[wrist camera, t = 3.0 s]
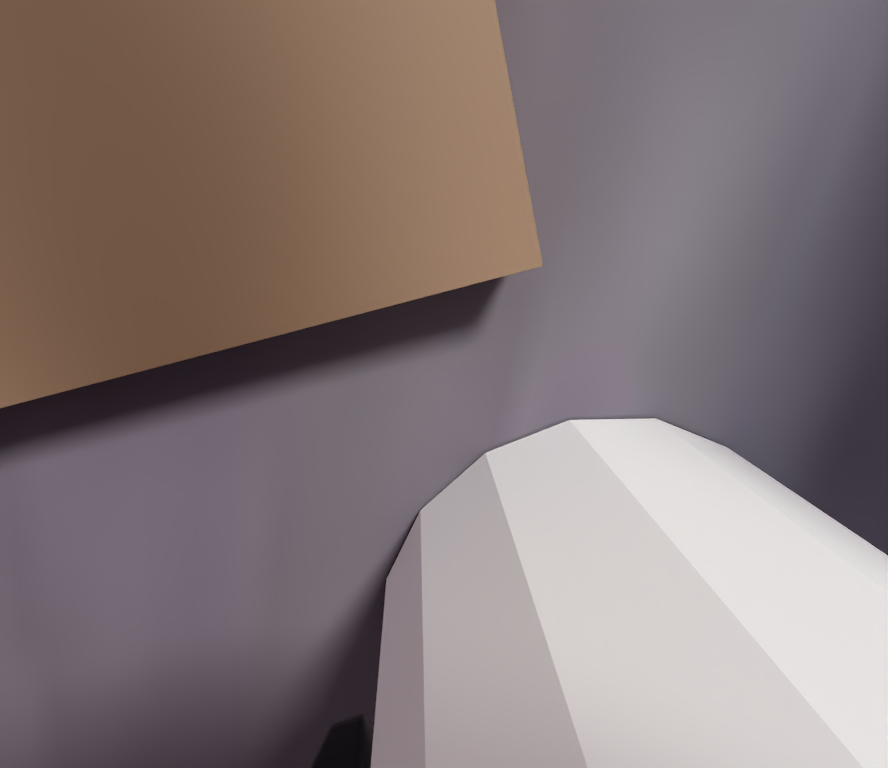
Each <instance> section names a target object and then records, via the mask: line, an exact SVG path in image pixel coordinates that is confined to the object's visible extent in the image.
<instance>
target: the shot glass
mask: <svg viewBox="0 0 888 768" xmlns="http://www.w3.org/2000/svg"><path fill="white" fill-rule="evenodd" d="M371 768H888V555H886V554H885V553H883V552H882V551H880V550H879V549H877V548H876V547H874V546H873V545H871V544H870V543H868V542H867V541H866V540H864V539H863V538H861V537H860V536H858V535H857V534H855V533H854V532H852V531H851V530H849V529H848V528H846V527H845V526H843V525H842V524H840V523H839V522H837V521H836V520H834V519H833V518H831V517H830V516H828V515H827V514H825V513H824V512H822V511H821V510H819V509H818V508H817V507H815V506H814V505H812V504H811V503H809V502H808V501H806V500H805V499H803V498H802V497H800V496H799V495H797V494H796V493H794V492H793V491H791V490H790V489H788V488H787V487H785V486H784V485H782V484H781V483H779V482H778V481H776V480H775V479H773V478H772V477H770V476H769V475H768V474H766V473H765V472H763V471H762V470H760V469H759V468H757V467H756V466H754V465H753V464H751V463H750V462H748V461H747V460H745V459H744V458H742V457H741V456H739V455H738V454H736V453H735V452H733V451H732V450H730V449H729V448H727V447H725V446H723V445H720V444H718V443H715V442H713V441H710V440H708V439H705V438H703V437H700V436H698V435H695V434H693V433H691V432H688V431H686V430H683V429H681V428H678V427H676V426H673V425H671V424H668V423H666V422H663V421H661V420H658V419H656V418H655V419H596V420H568V421H566V422H563V423H560V424H558V425H555V426H553V427H550V428H548V429H545V430H543V431H540V432H537V433H535V434H532V435H530V436H527V437H525V438H522V439H519V440H517V441H514V442H512V443H509V444H507V445H504V446H502V447H499V448H496V449H494V450H491V451H489V452H486V453H485V454H483V455H482V456H481V457H480V458H479V459H478V460H477V461H476V462H474V463H473V464H472V465H471V466H470V467H469V468H468V469H466V470H465V471H464V472H463V473H462V474H461V475H460V476H459V477H457V478H456V479H455V480H454V481H453V482H452V483H451V484H449V485H448V486H447V487H446V488H445V489H444V490H443V491H442V492H440V493H439V494H438V495H437V496H436V497H435V498H434V499H432V500H431V501H430V502H429V503H428V504H427V505H426V506H425V507H423V508H422V509H421V510H420V512H419V514H418V516H417V518H416V520H415V522H414V524H413V526H412V528H411V530H410V532H409V534H408V536H407V538H406V540H405V543H404V545H403V547H402V549H401V551H400V553H399V555H398V557H397V559H396V561H395V563H394V565H393V567H392V569H391V571H390V573H389V575H388V577H387V579H386V590H385V602H384V614H383V626H382V638H381V650H380V662H379V674H378V685H377V697H376V709H375V721H374V733H373V745H372V757H371Z"/></svg>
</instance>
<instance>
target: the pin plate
mask: <svg viewBox="0 0 888 768" xmlns="http://www.w3.org/2000/svg"><path fill="white" fill-rule="evenodd" d="M541 266H543V264H542V258H541V253H540V247H539V242H538V236H537V231H536V225H535V220H534V214H533V209H532V203H531V198H530V192H529V187H528V181H527V176H526V170H525V165H524V159H523V154H522V148H521V143H520V137H519V132H518V126H517V121H516V115H515V110H514V104H513V99H512V93H511V88H510V82H509V77H508V71H507V66H506V60H505V55H504V49H503V43H502V38H501V32H500V27H499V21H498V16H497V10H496V5H495V0H0V408H3V407H7V406H11V405H15V404H18V403H22V402H26V401H30V400H34V399H37V398H41V397H45V396H49V395H53V394H56V393H60V392H64V391H68V390H72V389H76V388H79V387H83V386H87V385H91V384H95V383H98V382H102V381H106V380H110V379H114V378H118V377H121V376H125V375H129V374H133V373H137V372H140V371H144V370H148V369H152V368H156V367H159V366H163V365H167V364H171V363H175V362H179V361H182V360H186V359H190V358H194V357H198V356H201V355H205V354H209V353H213V352H217V351H220V350H224V349H228V348H232V347H236V346H240V345H243V344H247V343H251V342H255V341H259V340H262V339H266V338H270V337H274V336H278V335H282V334H285V333H289V332H293V331H297V330H301V329H304V328H308V327H312V326H316V325H320V324H323V323H327V322H331V321H335V320H339V319H343V318H346V317H350V316H354V315H358V314H362V313H365V312H369V311H373V310H377V309H381V308H385V307H388V306H392V305H396V304H400V303H404V302H407V301H411V300H415V299H419V298H423V297H426V296H430V295H434V294H438V293H442V292H446V291H449V290H453V289H457V288H461V287H465V286H468V285H472V284H476V283H480V282H484V281H487V280H491V279H495V278H499V277H503V276H507V275H510V274H514V273H518V272H522V271H526V270H529V269H533V268H537V267H541Z"/></svg>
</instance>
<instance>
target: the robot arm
mask: <svg viewBox="0 0 888 768" xmlns="http://www.w3.org/2000/svg"><path fill="white" fill-rule="evenodd" d="M373 733H374V730H373V727H372V725H371V722H370V720H369V719H368V717H367V716H366V715H361V714H360V715H357V716H353V717H350V718H346V719H342V720H339V721H336V722H334V723H333V724H332V725H331V727H330V728H329V730H328V732H327V734H326V736H325V738H324V740H323V742H322V744H321V746H320V748H319V750H318V753H317V755H316V757H315V759H314V761H313V763H312V765H311V767H310V768H371V757H372V745H373Z"/></svg>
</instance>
